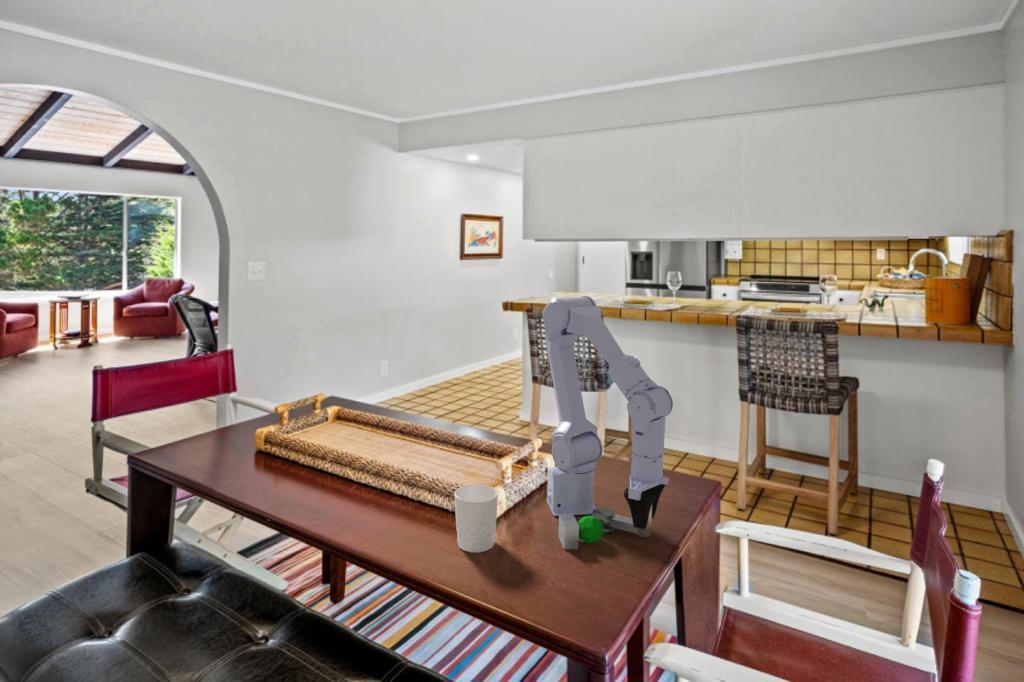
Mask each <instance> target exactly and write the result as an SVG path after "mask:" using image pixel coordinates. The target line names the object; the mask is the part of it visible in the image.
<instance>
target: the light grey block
mask: <svg viewBox="0 0 1024 682" xmlns="http://www.w3.org/2000/svg"><path fill="white" fill-rule="evenodd" d="M557 535H558V537H557V538H559V540H560V543H561V545H562V547H563V549H564V550H578V549H579V543H580V541H579V539H580V538H579V525H578V521H577V519H576V517H575V515H573V513H571V514H559V516H558V534H557Z"/></svg>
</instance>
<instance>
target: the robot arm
mask: <svg viewBox="0 0 1024 682" xmlns="http://www.w3.org/2000/svg"><path fill="white" fill-rule="evenodd" d="M541 314H542V319H543V325H544V332H545V335H544V336H545V345H546V352H547V356H548V362H549V367H550V373H551V380H552V385H553V390H554V396H555V401H556V402H555V403H556V409H557V414H558V418H559V424H558V425H557V427H556V428H555V429H554V431H553V432H552V434H551V438H552V439H551V440H552V448H551V457H552V460H553V462H554V464H555V465H556V466H553V467H550V468H548V471H547V495H546V496H547V497H546V502H547V505H548V507H549V508H550V511H551V512H552V515H553V516H554V517H559V514H571V513H573V515H574V516H582V515H583V516H584V515H585V516H588V515H592V511H593V510H594V509H597V508H598V507H597V506H596V505H595V502H594V487H595V486H594V485H595V467H597V465H598V464H597V461H598V460H600V459H601V458H602V455H603V454H604V453H603V452H604V445H603V442H602V440H601V438H600V437H599V434H598V432H597V426H596V425H595V424H594V423H593V422H591V421H590V420H589V419H587V416H586V410H585V405H584V400H583V395H582V389H581V384H580V378H579V377H580V376H579V372H578V368H577V367H578V366H577V359H576V356H575V351H574V344H575V342H576V340H577V339H578V337H579V336H585V338H586V339H587V340H588V341H589V343H591V344H592V346H593V347H594V348H595V350H597V352H598V353H599V354H600V355H601V357H602V358H603V359H604V360H605V361H606V362H607V364H608V375H609V376H610V378H611V379H612V381H613V382H614V383H615V386H616V387H617V388H618V389H619V391H620V392H621V393H622V395H623V396H624V397H625V399H626V400H627V402H628V403H626V410H627V413H628V416H629V417H630V421H631V424H630V425H631V428H632V437H631V438H632V442H631V443H632V444H631V459H630V460H631V463H630V472H629V487H626V488H625V490H624V491H623V497H624V498H625V500H626V502H627V504H628V506H629V510H630V513H631V514H630V515H631V518H632V520H633V525H634V527H636V528H640V529H645V528H646V526H647V523H648V518H649V513H650V509H651V506H652V518H651V519H654V517H655V515H656V512H657V509H658V504H659V501H660V498H661V496H662V494H663V491H664V488H665V487H666V485H668V483H669V477H667V476H666V477H665V476H664V475H663V472H664V471H663V469H664V453H665V437H666V436H665V434H666V417H667V416H669V415H670V414H671V413H672V410H673V407H674V402H673V398H672V395H671V394H670V392H669V390H668V389H667V388H666V387H664V386H661V385H658V384H657V382H655V381H654V380H653V379H651V378H650V376H649V375H648V374H647V373H646V371H645V370H644V369H643V367H642V366H641V364H642V363H641V361H640V360H639V359H638V357H637V358H636V357H635V356H633V355H629V354H625V353H624V352H623V350H622V348H621V346H620V345H619V343H618V342H617V340H616V339H615V338H614V336H613V334H612V332H611V331H610V330H609V328H608V327H607V325H606V323H605V322H604V320H603V319H602V309H601V308H600V307H599V306H598V305H597V303H596V301H595V300H594V299H593V298H592V297H590V296H587V295H582V296H577V297H566V298H565V297H563V298H559V297H556V298H555V297H554V298H552V299H550V300H549V301H548V302H547V303H546V305H545V307H544V309H543V311H542V313H541Z"/></svg>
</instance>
